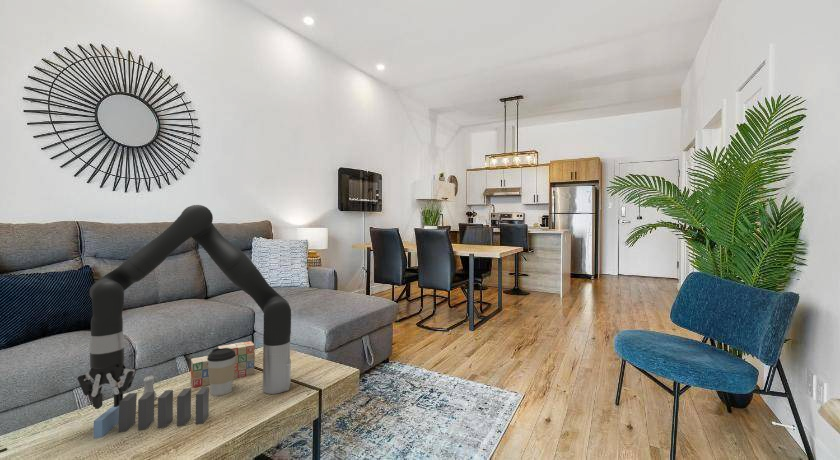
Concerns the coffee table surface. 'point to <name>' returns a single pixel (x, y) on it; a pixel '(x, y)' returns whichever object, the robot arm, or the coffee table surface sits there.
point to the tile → (106, 422)
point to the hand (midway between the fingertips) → (108, 406)
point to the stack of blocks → (242, 364)
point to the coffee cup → (221, 370)
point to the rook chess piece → (149, 385)
